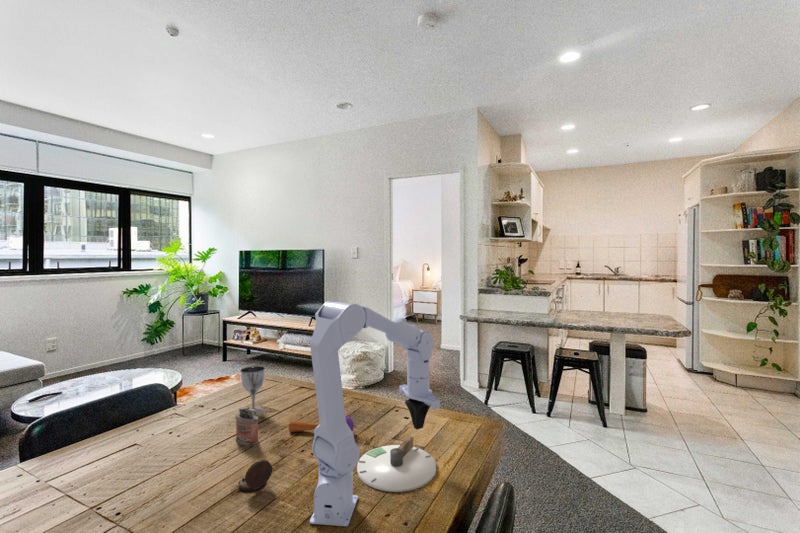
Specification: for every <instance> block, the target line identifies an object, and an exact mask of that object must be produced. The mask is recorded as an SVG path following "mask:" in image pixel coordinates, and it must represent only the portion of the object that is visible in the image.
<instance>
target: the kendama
mask: <svg viewBox="0 0 800 533" xmlns="http://www.w3.org/2000/svg"><path fill="white" fill-rule="evenodd" d="M345 417H346V423H347V424H348V426H349V428H350V429H351V431H352V432H354V426H355V425H354V420H353V419H352V417H351V416H348V415H345ZM319 424H320V423H315V422H314V423H313V422H305V421H297V420H290V422H289V424H288V431H289V433H294V432H302V431H310V430H314V429H315V428H316V427H317V426H318V425H319Z"/></svg>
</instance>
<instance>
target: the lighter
mask: <svg viewBox="0 0 800 533" xmlns="http://www.w3.org/2000/svg"><path fill="white" fill-rule="evenodd" d="M250 408H251V407H250V406H246V407H244V406H240V407H239V408H238V409H239V410H238V411H239V413H237V414H236V415H235V419H236V420H235V421H236V422H235V424H236V425H235V426H236V427H235V428H236V430H235V432H236V433H235V434H236V437H235V442H236V443H238V444H240V445H243V446H247V447H255V446H258V445H259V444H260V440H259V419H260V418H259V416H258V415H256V410H254V409H250Z"/></svg>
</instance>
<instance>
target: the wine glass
mask: <svg viewBox="0 0 800 533" xmlns="http://www.w3.org/2000/svg"><path fill="white" fill-rule="evenodd" d="M265 377H266V367H265V366H263V365H250V366H245V367H243V368H241V369H240V381H241V385H242V387H243V389H244V390H246V391H247V393H249V394H250V396H251V397H250V398H251V407H249V408H250V409H254V410H256V415H255V416H258V415H260V414H263V413H264V412H265V409H264V407H263V408H262V407H255V406H256V405H255V401H256V395H257V393H258V392H259V390H260V389H261V387H262V386H263V384H264V382H265Z"/></svg>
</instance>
